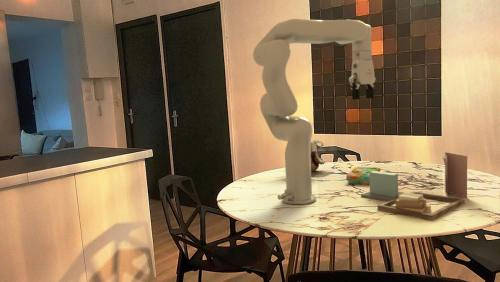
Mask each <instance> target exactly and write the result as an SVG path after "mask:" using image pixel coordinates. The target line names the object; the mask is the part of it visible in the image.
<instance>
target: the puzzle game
mask: <svg viewBox="0 0 500 282" xmlns="http://www.w3.org/2000/svg"><path fill="white" fill-rule="evenodd" d="M372 171H379V172H381V167H366V166H365V167H364V166H363V167H361V166H360V167H359V166H358V167H357V166H356V167H355V166H354V168H352V169H351V171H349V173H347V174H346V177H345V178H346V179H345V180H347V182H348V183H349V184H350V183H351V185H370V174H369V172H372Z"/></svg>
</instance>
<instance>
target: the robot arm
mask: <svg viewBox="0 0 500 282" xmlns="http://www.w3.org/2000/svg"><path fill="white" fill-rule="evenodd" d="M333 42H334V43H336V44H339V45H345V44H346V45H347V44H352V45H351V47H352V48H351V49H352V56H351V57H352V58H351V59H352V63H351V76H350V77H349V78H348V81H349V86H350V89H351V97H352V98H351V99H352V100H360V99H361V98H360V97H361V96H360V95H361V94H360V92H361V91H360V89H359V88H360V85H365V87H366V88H365V98H366V99H374V96H375V95H374V93H375V92H374V89H375V85H376V80H377V78H376V76H375V68H374V67H375V66H374V61H373V59H372V58H373V57H372V56H373V54H372V53H373V52H372V51H373V50H372V26H371V25H370V24H366V23H364V22H363V21H361V20H358V19H357V20H356V19H331V20H330V19H326V20H325V19H324V20H323V19H304V18H291V19H288V20H284V21H282V22H280V21H279V22H278V23H277V24H275V25H274V26H273V27H271V29H270V30H269V31H268V32H267V33H266V34H265V36H264V37H263V38H261V40H260V41H259V42H258V43H257V45H255V47H254V49H253V53H252V57H253V61H254V62H255V64H257V65H258V66H261V67H263V68H262V74H261V75H262V76H261V81H262V83H263V84H262V85H263V87H264V89H265V93H263V95H262V96H261V98H260V101H259V107H260V112H261V114H262V117H263V118H264V121H265V123H266V124H267V127H268V129H269V131H270V133H271V135H272V136H273V137H274V138H275V139H276V140H279V141H282V142H283V141H284V142H287V143H286V146H285V151H284V163H285V164H284V165H285V167H284V168H285V184H286V185H285V186H286V187H285V188H286V189H284V192H283V193H280V194H278V195H277V199H278V200H279V201H280V200H281V201H283V202H284V203H286V204H290V205H306V204H307V205H308V204H312V203H314V202H316V201H317V196H316V195H315V194H313V189H312V188H313V186H312V177H311V157H310V145H311V142H312V136H313V125H312V124H311V122H310V120H308V119H307V118H306V117H303V116H294V114H296V112H297V110H298V101H297V99H296V96H295V94H294V91H293V89H292V87H291V85H290V83H289V80H288V78H287V74H286V70H287V69H286V68H287V64H288V63H289V62H288V61H289V59H290V57H291V52H292V51H291V50H292V49H291V44H313V45H314V44H315V45H321V44H329V43H333Z"/></svg>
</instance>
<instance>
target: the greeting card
mask: <svg viewBox="0 0 500 282" xmlns="http://www.w3.org/2000/svg"><path fill="white" fill-rule="evenodd" d="M442 159H443V163H444V193H445V196H447V197H448V193H449V194H450V193H451V194H454V195H457V196H458V197H459V196H460V197H463V198H464V199H465V198H466V199H468V155H463V154H456V153H452V152H446V151H445V152H444V157H442Z"/></svg>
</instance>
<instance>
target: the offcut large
mask: <svg viewBox="0 0 500 282" xmlns="http://www.w3.org/2000/svg"><path fill="white" fill-rule="evenodd" d="M390 207H395V208H400V209H406V210H411V211H416V212H422V213H427V214H430V212H432V209H431V208H432V205H428V204H426V206H425V207H424V208H423V209H422V210H419V209H411V208H402V207H396V204H394V205H391V206H390Z"/></svg>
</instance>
